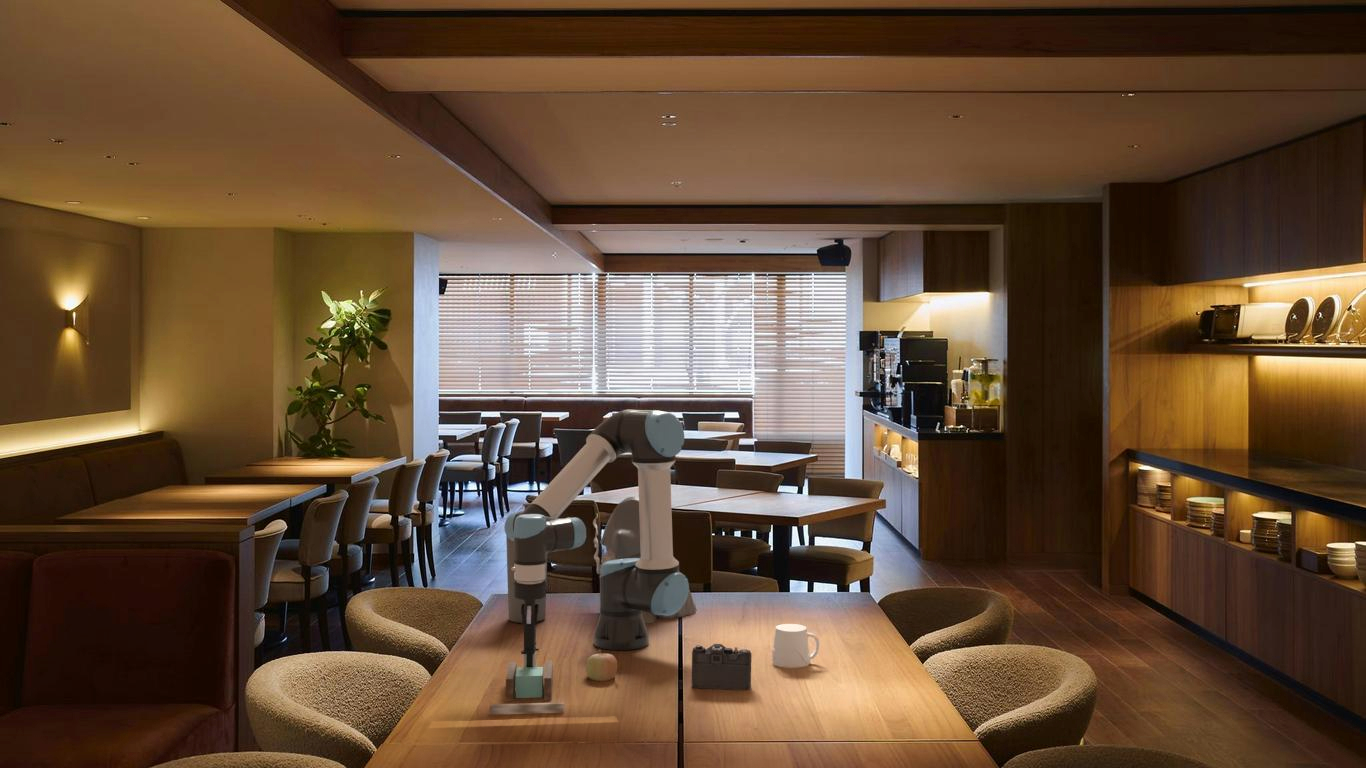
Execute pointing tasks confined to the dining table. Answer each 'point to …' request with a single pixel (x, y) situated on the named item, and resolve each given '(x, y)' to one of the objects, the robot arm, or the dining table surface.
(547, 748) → the dining table surface
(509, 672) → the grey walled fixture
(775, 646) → the mug
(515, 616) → the canister
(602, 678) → the fruit
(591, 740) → the dining table surface
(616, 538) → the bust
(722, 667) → the camera
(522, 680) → the block
